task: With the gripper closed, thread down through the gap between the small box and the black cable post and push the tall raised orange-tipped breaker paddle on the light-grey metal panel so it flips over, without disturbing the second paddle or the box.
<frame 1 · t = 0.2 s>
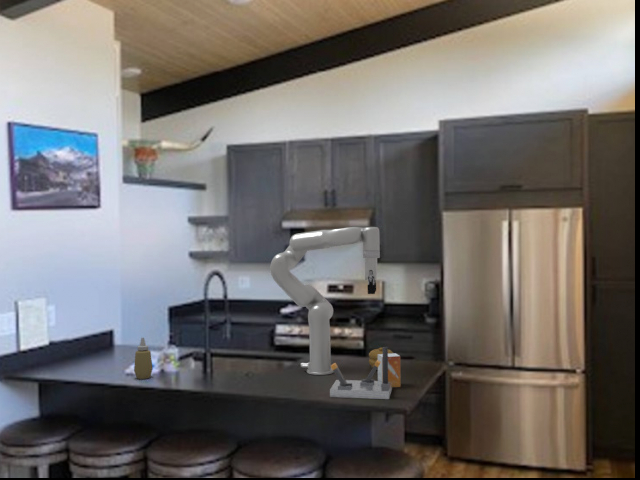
hand: (372, 292, 294), 37 cm above the worktop, tool pointing down, fingers open, 9 cm apart
breaker paddle: (373, 371, 264), point 8 cm above the worktop, hinge at 30.0°
pot: (381, 369, 305), on the worktop
second paddle: (338, 374, 259), point 8 cm above the worktop, hinge at -30.0°
cable post: (385, 389, 256), resting on panel
small box: (389, 386, 273), on the worktop
panel: (361, 392, 262), on the worktop
squeeze bottle: (143, 378, 294), on the worktop
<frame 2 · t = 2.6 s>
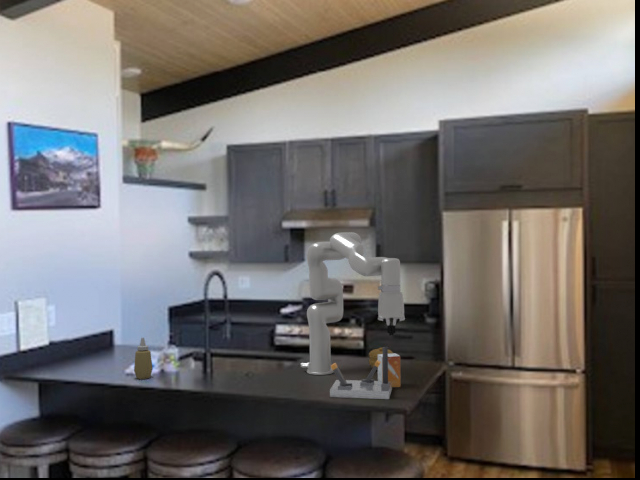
hand: (391, 334, 262), 23 cm above the worktop, tool pointing down, fingers closed
nothing on the worktop moved.
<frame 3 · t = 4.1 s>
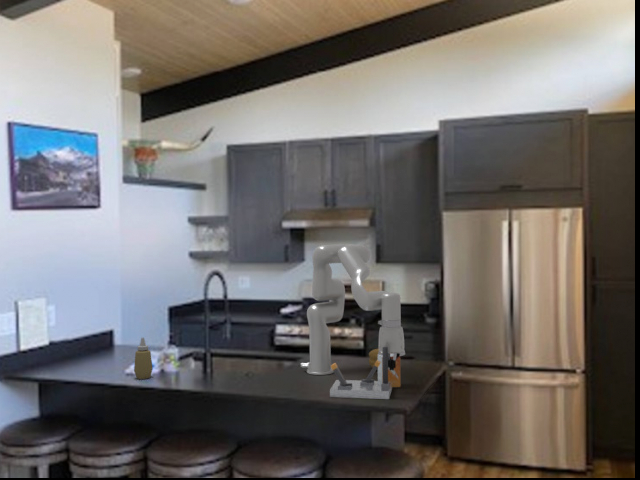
hand: (391, 369, 263), 9 cm above the worktop, tool pointing down, fingers closed
nothing on the worktop moved.
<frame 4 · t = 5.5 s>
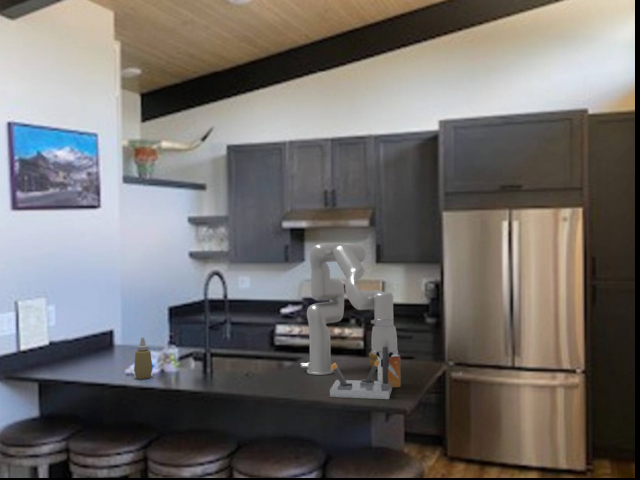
hand: (384, 368, 263), 9 cm above the worktop, tool pointing down, fingers closed
breaker paddle: (372, 371, 264), point 8 cm above the worktop, hinge at 27.9°, touching gripper
everything else where it was.
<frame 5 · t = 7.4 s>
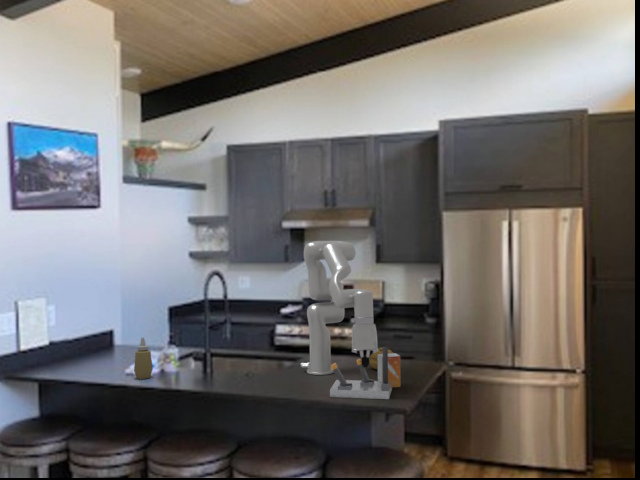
hand: (365, 366, 264), 10 cm above the worktop, tool pointing down, fingers closed
breaker paddle: (362, 370, 265), point 9 cm above the worktop, hinge at -21.1°, touching gripper
everything else where it was.
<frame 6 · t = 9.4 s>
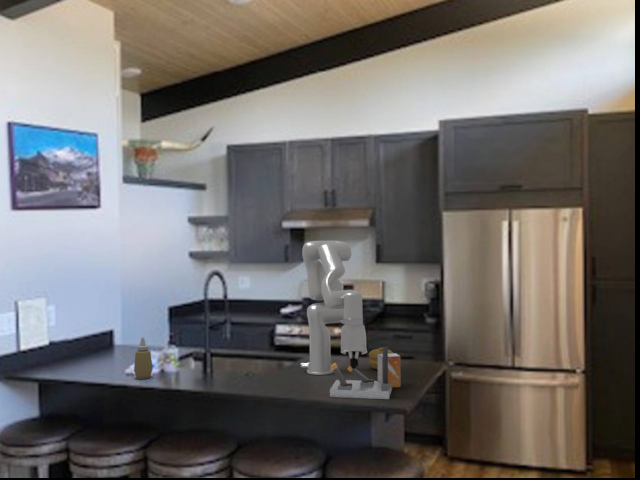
hand: (354, 367, 265), 10 cm above the worktop, tool pointing down, fingers closed
breaker paddle: (357, 373, 265), point 7 cm above the worktop, hinge at -51.6°, touching gripper
everything else where it was.
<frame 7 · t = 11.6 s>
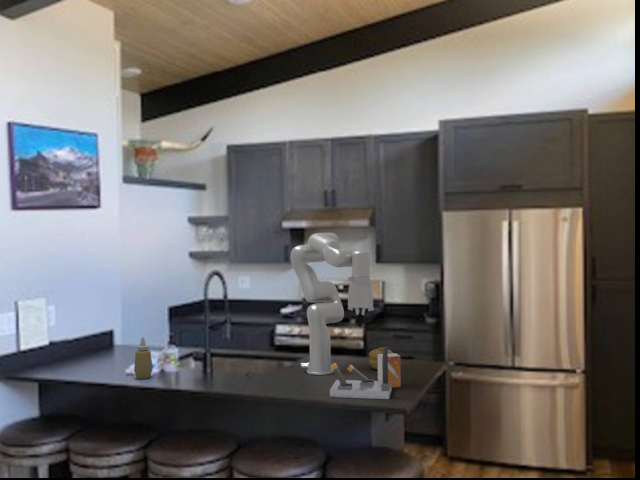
hand: (360, 324, 273), 26 cm above the worktop, tool pointing down, fingers closed
breaker paddle: (357, 373, 265), point 7 cm above the worktop, hinge at -51.8°
everything else where it was.
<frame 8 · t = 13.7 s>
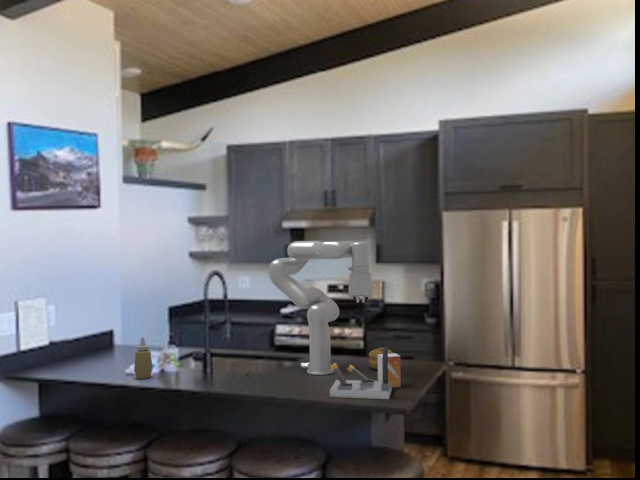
hand: (361, 311, 288), 29 cm above the worktop, tool pointing down, fingers closed
nothing on the worktop moved.
at the end: breaker paddle at -52° (first picture: +30°); second paddle at -30° (first picture: -30°); small box moved 0.2 cm from its start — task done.
